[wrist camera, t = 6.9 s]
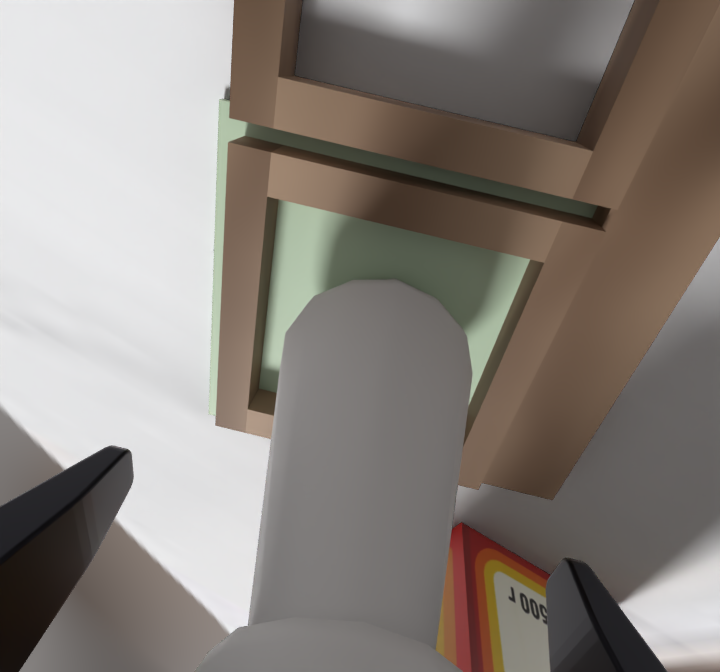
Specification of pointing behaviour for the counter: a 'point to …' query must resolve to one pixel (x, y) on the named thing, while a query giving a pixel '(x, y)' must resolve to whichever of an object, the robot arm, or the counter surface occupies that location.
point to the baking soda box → (492, 608)
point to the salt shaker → (358, 488)
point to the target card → (372, 254)
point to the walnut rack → (494, 223)
